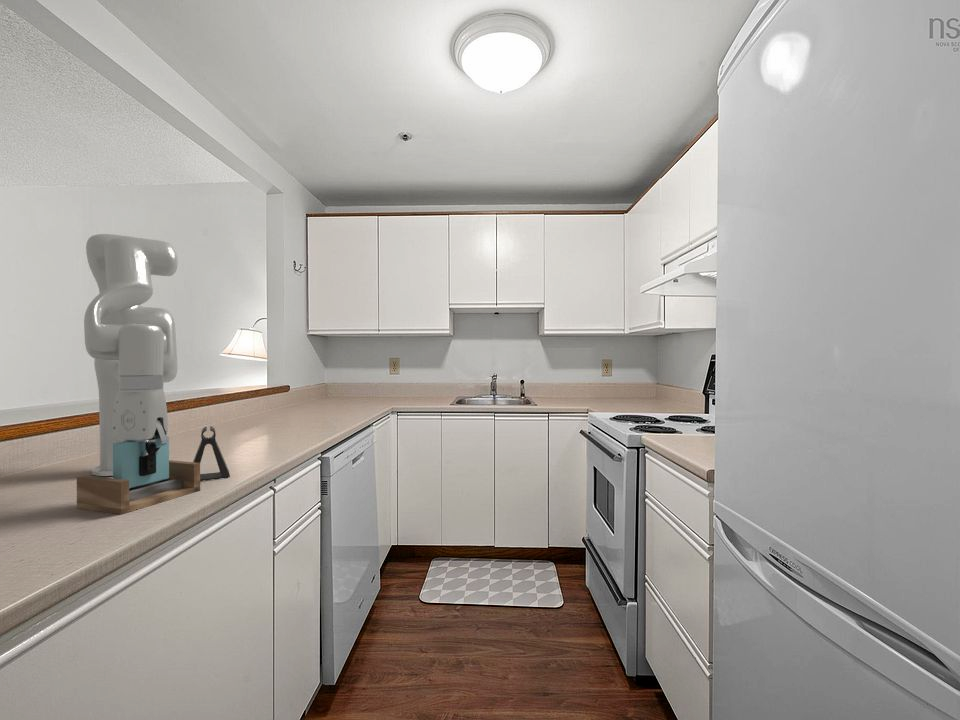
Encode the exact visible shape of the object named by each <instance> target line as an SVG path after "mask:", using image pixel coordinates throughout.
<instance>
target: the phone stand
mask: <svg viewBox="0 0 960 720" xmlns="http://www.w3.org/2000/svg"><path fill="white" fill-rule="evenodd" d="M209 429H210V430H209V431H210V432H212V433H213V434H212V435H211V436H209V437H208V436H207V437H206V436H205V434H204V433H205V432H207V430H208V428H207V426H204V427H203V428H202V430H201V435H200V436H201V441H200V443H199V445H198V448H197V450H196V452H195V455H194V458H193V461H192V462H195V463H200V464H201V462H202V458H203V455H204V452H205V448H206V446H208V445H211V448H212V450H213V454H214V457H215V460H216V464H217V466H218V470H219V471H218V472H209V473H200V482H203V481H202V480H205V481H211V480H210V479H215V480H220V479H219V478H224V479H229V478H231V475H230V470H229V467H228V465H227V463H226V460H225V458H224V456H223V453H222V451H221V450H220V449H221V448H220V447H219V444H218V442H217V439H216V436H217V435H216V434H217V433H216V429H215V428H214V426H210V427H209ZM228 477H229V478H228Z"/></svg>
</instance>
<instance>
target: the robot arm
mask: <svg viewBox="0 0 960 720" xmlns="http://www.w3.org/2000/svg"><path fill="white" fill-rule="evenodd" d="M85 251H86V253H85V254H86V258H87V264H88V266H89V269H90V270H91V271H90V272H91V273H92V275H93V278H94V279H95V281H96V284H97V287H98V290H99V291H98V292H99V294H97V295H96V296H95V297H94V298H93V299H92V300H91V302H90V303H89V304H88V306H87V308H86V309H85V313H84V318H83V328H84V329H83V330H84V345H85V349H86V352H87V354H88V356H90V357H91V358H93V359H94V370H95V371H94V372H95V377H96V381H97V388H98V404H99V405H98V407H99V408H98V409H99V411H98V413H99V415H98V416H99V417H98V418H99V466H96V467H94V468H91V475H92V476H97V477H113V443H118V442H125V441H136V442H141V453H142V456H140V457H139V475H140V476H146V475H150V474H154V473H156V454H158V450H159V449H160V447H161V446H163V445H165V444H167V438H166V436H168V430H169V429H168V428H169V427H168V425H169V422H168V421H169V418H168V408H167V400H166V395H165V391H164V383H170V382H172V381H174V380H175V379H176V377H177V374H178V354H177V353H178V352H177V351H178V350H177V338H176V325H175V318H174V316H173V314H172V313H171V312H170V311H169V310H168V309H166V308H161V307H147V306H142V305H143V304H145V303H147V302H148V301H149V300H150V299H151V298H152V296H153V294H154V289H153V282H152V277H151V276H161V277H171V276H173V275H175V273H176V272H177V270H178V254H177V251H176V249H175V247H174V246H173V245H172V244H171V243H169V242H167V241H164V240H157V239H149V238H143V237H134V236H127V235H121V234H114V233H113V234H112V233H111V234H110V233H104V234H103V233H99V234H94V235H92V236H90V237H88V239H87V240H86V245H85ZM149 438H152V439H149ZM148 443H151V444H150V445H149V446H148Z"/></svg>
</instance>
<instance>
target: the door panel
mask: <svg viewBox="0 0 960 720" xmlns="http://www.w3.org/2000/svg"><path fill="white" fill-rule="evenodd" d="M166 438H167V444H165V445H163V446H161V447H160V449H159V450H158V454H156V473H154V474H150V475H146V476H140V475H139V457H140V456H142V453H141V442H136V441H125V442H118V443H113V476H112V478H114V479H123V480H129V488H132V487H136V486H140V485H144V484H148V483H152V482H156V481H160V480H164V479H168V478H169V460H170V437H169V435H166ZM149 439H152V438H149ZM150 444H151V443H148V446H149V445H150Z"/></svg>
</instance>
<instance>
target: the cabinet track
mask: <svg viewBox="0 0 960 720" xmlns="http://www.w3.org/2000/svg"><path fill="white" fill-rule="evenodd" d="M200 474H201V462H200V463H195V462H193V461H182V460H171V459H169V478H168V479H164V480H160V481H156V482H152V483H148V484H144V485H140V486H136V487H132V488H129V480H123V479H114V478H113V477H106V476H95V475H87V474H86V475H84V474H83V475H80V476H76V509H80V508H83V509H82V510H87V509H90V510H89V511H94V510H95V512H101V511H102V513H108V512H109V514H115V513H116V515H124V514H127V513H130V511H131V512H133V511H137V510H141V509H144V508H146V506H147V507H150V505H151V506H154V505H156V504H159V503H160V504H161V503H163V502H167V501H170V500H172V499H173V498H174V499H176V498H180V497H182V496H187V495H190V494H193V493H197V492H200V491H201V481H200ZM153 504H154V505H153ZM143 507H144V508H143ZM140 508H141V509H140ZM136 509H137V510H136Z"/></svg>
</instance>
